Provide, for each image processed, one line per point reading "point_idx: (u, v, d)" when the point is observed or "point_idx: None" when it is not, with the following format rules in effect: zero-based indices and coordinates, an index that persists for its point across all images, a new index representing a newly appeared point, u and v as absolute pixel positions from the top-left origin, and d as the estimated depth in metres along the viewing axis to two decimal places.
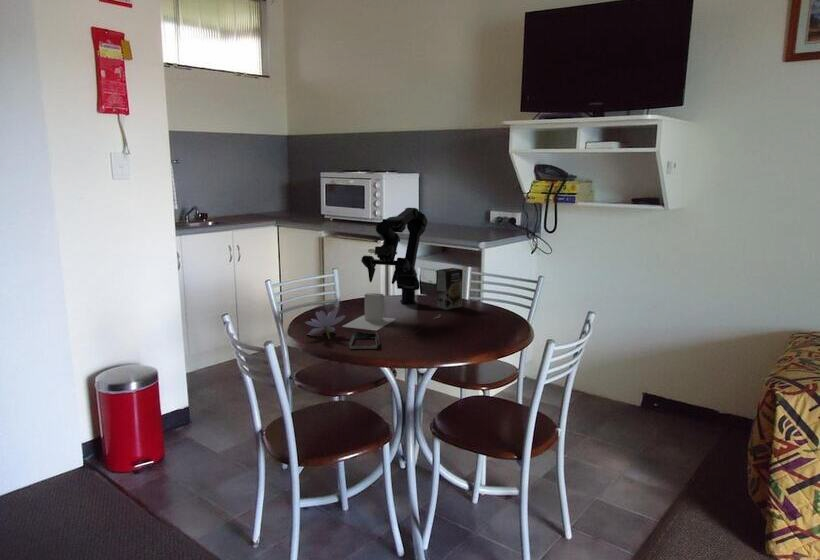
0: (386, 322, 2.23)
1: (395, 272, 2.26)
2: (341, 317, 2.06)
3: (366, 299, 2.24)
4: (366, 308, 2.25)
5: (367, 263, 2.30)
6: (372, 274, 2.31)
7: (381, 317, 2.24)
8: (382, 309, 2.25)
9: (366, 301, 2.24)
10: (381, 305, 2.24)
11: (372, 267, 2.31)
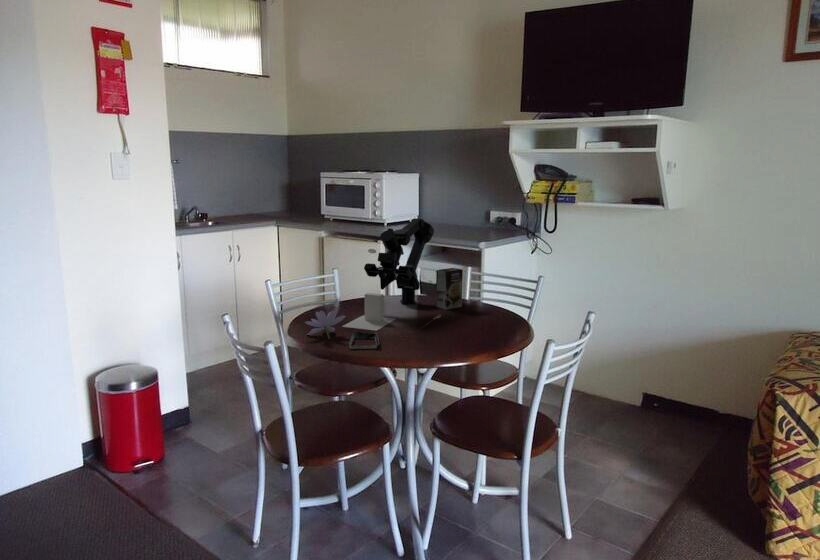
0: (386, 322, 2.23)
1: (386, 278, 2.32)
2: (341, 317, 2.06)
3: (366, 299, 2.24)
4: (366, 308, 2.25)
5: (380, 271, 2.33)
6: None
7: (381, 317, 2.24)
8: (382, 309, 2.25)
9: (366, 301, 2.24)
10: (381, 305, 2.24)
11: (384, 275, 2.34)
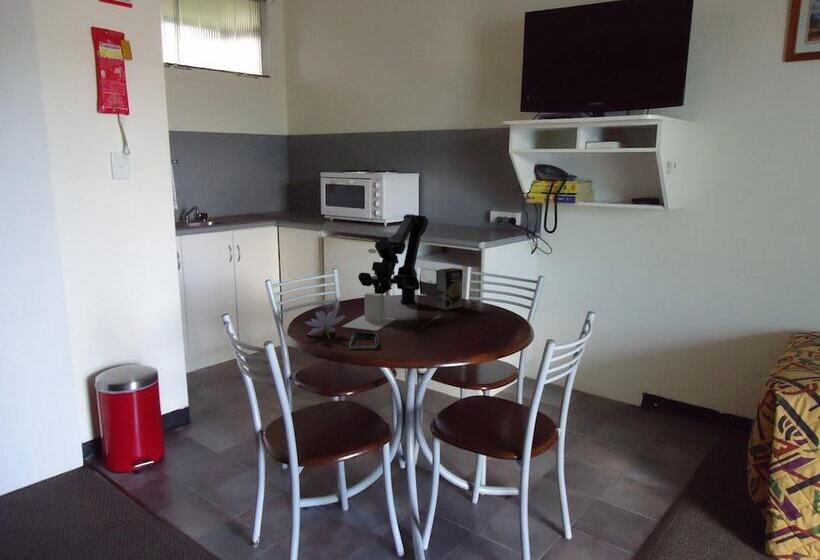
0: (386, 322, 2.23)
1: (380, 288, 2.27)
2: (341, 317, 2.06)
3: (366, 299, 2.24)
4: (366, 308, 2.25)
5: (374, 280, 2.29)
6: None
7: (381, 317, 2.24)
8: (382, 309, 2.25)
9: (366, 301, 2.24)
10: (381, 305, 2.24)
11: (379, 285, 2.30)
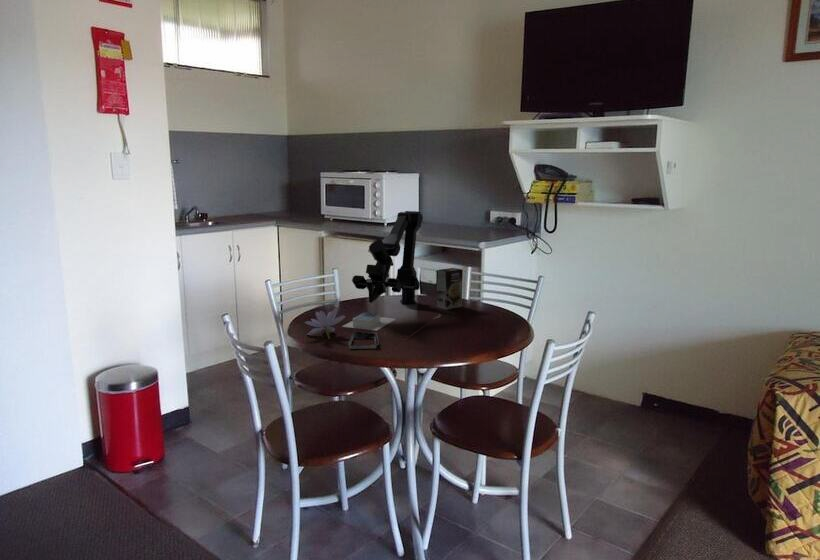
0: (386, 322, 2.23)
1: (374, 291, 2.23)
2: (341, 317, 2.06)
3: None
4: None
5: (368, 283, 2.24)
6: None
7: (378, 321, 2.22)
8: (375, 319, 2.19)
9: None
10: (373, 322, 2.18)
11: (373, 288, 2.25)
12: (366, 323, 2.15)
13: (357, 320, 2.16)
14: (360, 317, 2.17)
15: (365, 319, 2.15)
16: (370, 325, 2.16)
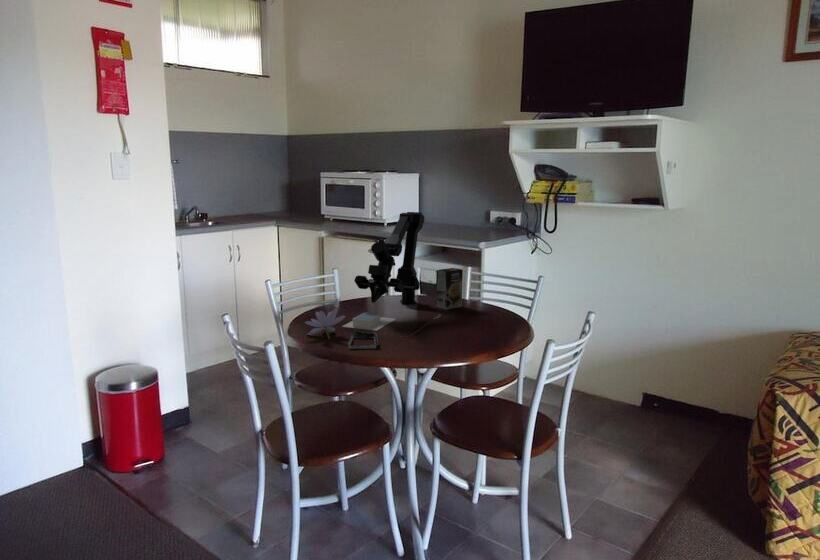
0: (386, 322, 2.23)
1: (377, 291, 2.25)
2: (341, 317, 2.06)
3: None
4: None
5: (370, 283, 2.26)
6: None
7: (378, 321, 2.22)
8: (375, 319, 2.19)
9: None
10: (373, 322, 2.18)
11: (375, 288, 2.27)
12: (366, 323, 2.15)
13: (357, 320, 2.16)
14: (360, 317, 2.17)
15: (365, 319, 2.15)
16: (370, 325, 2.16)
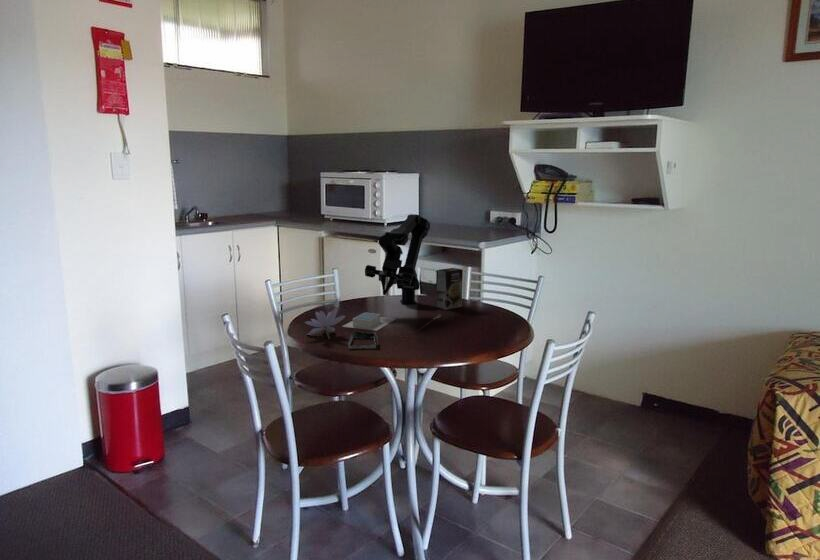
0: (386, 322, 2.23)
1: (388, 284, 2.32)
2: (341, 317, 2.06)
3: None
4: None
5: (382, 276, 2.31)
6: None
7: (378, 321, 2.22)
8: (375, 319, 2.19)
9: None
10: (373, 322, 2.18)
11: None
12: (366, 323, 2.15)
13: (357, 320, 2.16)
14: (360, 317, 2.17)
15: (365, 319, 2.15)
16: (370, 325, 2.16)
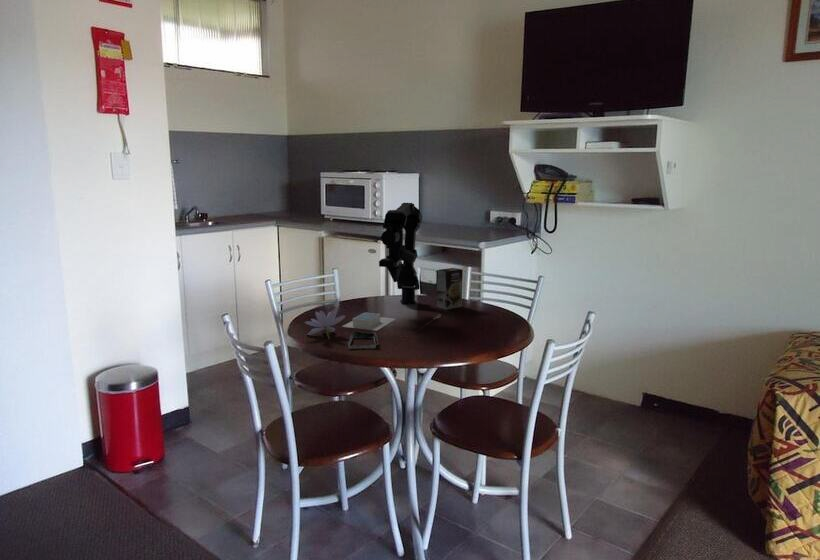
0: (386, 322, 2.23)
1: (399, 271, 2.35)
2: (341, 317, 2.06)
3: None
4: None
5: (399, 266, 2.31)
6: None
7: (378, 321, 2.22)
8: (375, 319, 2.19)
9: None
10: (373, 322, 2.18)
11: None
12: (366, 323, 2.15)
13: (357, 320, 2.16)
14: (360, 317, 2.17)
15: (365, 319, 2.15)
16: (370, 325, 2.16)
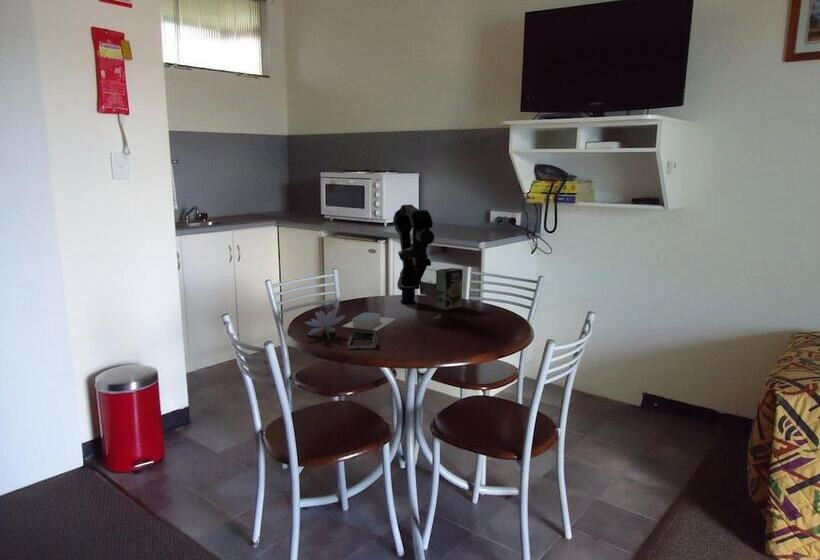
0: (386, 322, 2.23)
1: (416, 270, 2.38)
2: (341, 317, 2.06)
3: None
4: None
5: (412, 263, 2.40)
6: None
7: (378, 321, 2.22)
8: (375, 319, 2.19)
9: None
10: (373, 322, 2.18)
11: None
12: (366, 323, 2.15)
13: (357, 320, 2.16)
14: (360, 317, 2.17)
15: (365, 319, 2.15)
16: (370, 325, 2.16)
